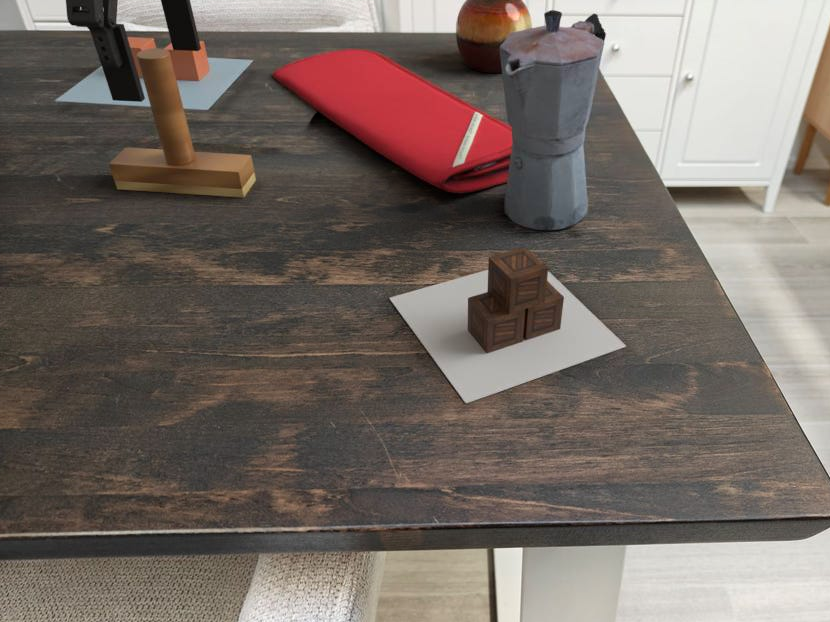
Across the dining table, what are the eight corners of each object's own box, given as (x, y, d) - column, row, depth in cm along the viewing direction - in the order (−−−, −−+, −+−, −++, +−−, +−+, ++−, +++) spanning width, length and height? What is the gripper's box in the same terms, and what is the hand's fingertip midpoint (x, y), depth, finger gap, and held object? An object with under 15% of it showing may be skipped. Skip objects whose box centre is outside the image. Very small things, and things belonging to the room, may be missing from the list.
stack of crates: (533, 257, 72) (538, 193, 67) (626, 346, 62) (640, 278, 57) (388, 298, 66) (383, 231, 62) (465, 403, 56) (466, 333, 52)
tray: (57, 109, 95) (53, 100, 94) (121, 60, 109) (119, 52, 108) (209, 119, 94) (207, 109, 93) (255, 68, 108) (253, 59, 107)
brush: (117, 189, 80) (72, 56, 71) (133, 172, 83) (93, 42, 74) (244, 197, 79) (216, 64, 70) (256, 180, 82) (230, 50, 73)
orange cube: (120, 76, 101) (111, 46, 98) (133, 66, 104) (125, 36, 101) (149, 78, 101) (140, 48, 98) (161, 67, 104) (153, 38, 101)
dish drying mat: (371, 63, 110) (369, 37, 108) (552, 169, 85) (554, 138, 83) (272, 85, 103) (268, 57, 100) (438, 208, 78) (437, 176, 76)
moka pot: (466, 224, 76) (467, 17, 63) (544, 168, 86) (559, -21, 72) (546, 254, 72) (566, 40, 59) (618, 192, 82) (649, -3, 68)
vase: (519, 81, 106) (526, -39, 96) (445, 72, 108) (444, -47, 98) (537, 56, 114) (545, -58, 104) (468, 47, 116) (469, -64, 106)
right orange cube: (170, 79, 100) (162, 49, 98) (182, 69, 103) (175, 39, 101) (199, 81, 100) (192, 50, 98) (210, 70, 103) (203, 40, 101)
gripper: (49, -179, 49) (141, 127, 63) (193, -208, 68) (240, 33, 82) (-58, -182, 50) (57, 123, 64) (115, -210, 69) (174, 30, 83)
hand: (160, 73), depth 73 cm, fingers open, 13 cm apart
